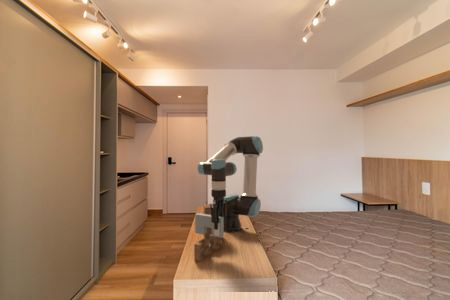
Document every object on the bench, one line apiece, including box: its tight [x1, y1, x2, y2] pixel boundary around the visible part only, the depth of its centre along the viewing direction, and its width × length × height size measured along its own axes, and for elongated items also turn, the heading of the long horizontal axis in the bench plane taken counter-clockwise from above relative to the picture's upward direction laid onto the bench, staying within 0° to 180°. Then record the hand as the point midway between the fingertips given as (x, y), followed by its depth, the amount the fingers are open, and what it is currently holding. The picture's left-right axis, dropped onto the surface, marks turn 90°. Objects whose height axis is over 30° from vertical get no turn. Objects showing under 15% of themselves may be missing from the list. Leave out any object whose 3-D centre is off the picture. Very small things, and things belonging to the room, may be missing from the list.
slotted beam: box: [193, 234, 223, 262], centre depth 122 cm, size 22×3×8 cm, turn 151°
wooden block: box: [203, 203, 217, 239], centre depth 144 cm, size 10×10×20 cm
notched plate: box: [194, 212, 225, 239], centre depth 122 cm, size 3×16×10 cm, turn 61°
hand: (218, 234), depth 119 cm, fingers closed on notched plate, 3 cm apart
